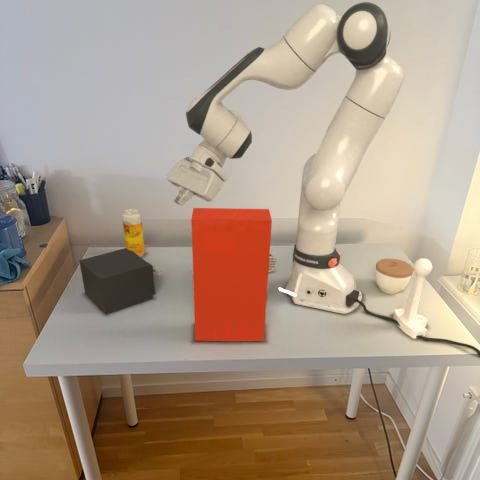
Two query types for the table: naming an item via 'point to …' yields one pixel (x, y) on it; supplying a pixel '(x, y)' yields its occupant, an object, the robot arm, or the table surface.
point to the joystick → (414, 303)
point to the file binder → (230, 273)
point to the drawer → (151, 273)
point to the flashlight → (272, 263)
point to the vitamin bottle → (133, 231)
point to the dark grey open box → (116, 280)
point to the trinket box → (392, 275)
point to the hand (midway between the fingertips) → (177, 203)
